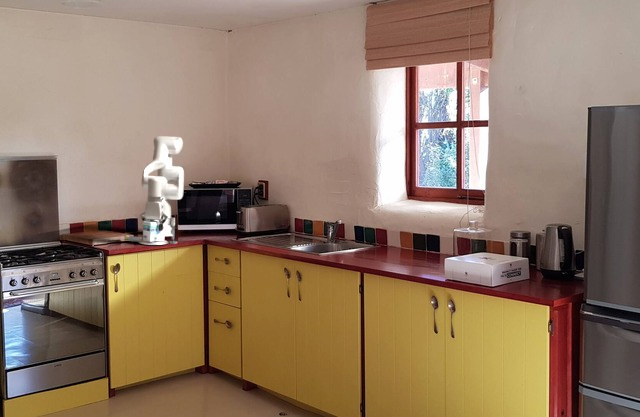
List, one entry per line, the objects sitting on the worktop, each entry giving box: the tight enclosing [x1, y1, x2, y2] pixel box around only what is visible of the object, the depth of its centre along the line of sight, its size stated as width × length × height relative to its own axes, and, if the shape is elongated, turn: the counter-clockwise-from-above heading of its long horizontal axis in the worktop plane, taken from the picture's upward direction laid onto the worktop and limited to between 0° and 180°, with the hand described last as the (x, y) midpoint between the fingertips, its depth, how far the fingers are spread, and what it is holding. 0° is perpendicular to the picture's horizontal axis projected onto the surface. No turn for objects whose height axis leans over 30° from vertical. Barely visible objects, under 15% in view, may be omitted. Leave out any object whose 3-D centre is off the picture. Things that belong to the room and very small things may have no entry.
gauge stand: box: [167, 217, 178, 245], centre depth 427 cm, size 4×5×15 cm
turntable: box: [123, 234, 169, 246], centre depth 424 cm, size 16×26×3 cm, turn 74°
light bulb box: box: [142, 220, 165, 242], centre depth 422 cm, size 11×7×11 cm, turn 144°
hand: (153, 230), depth 422 cm, fingers closed on light bulb box, 8 cm apart
